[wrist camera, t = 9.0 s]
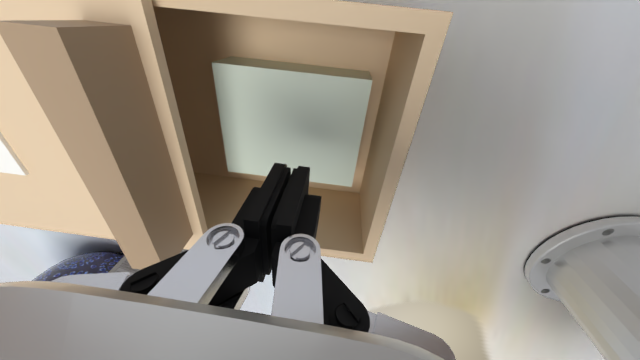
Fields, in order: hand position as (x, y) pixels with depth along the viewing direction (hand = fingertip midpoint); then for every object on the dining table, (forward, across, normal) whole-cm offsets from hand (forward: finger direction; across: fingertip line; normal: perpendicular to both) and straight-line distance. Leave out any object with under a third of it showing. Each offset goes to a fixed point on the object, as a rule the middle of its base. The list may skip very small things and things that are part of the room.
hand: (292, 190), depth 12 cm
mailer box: (+10, +6, 0) cm, 12 cm away
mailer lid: (+2, +17, 0) cm, 18 cm away
